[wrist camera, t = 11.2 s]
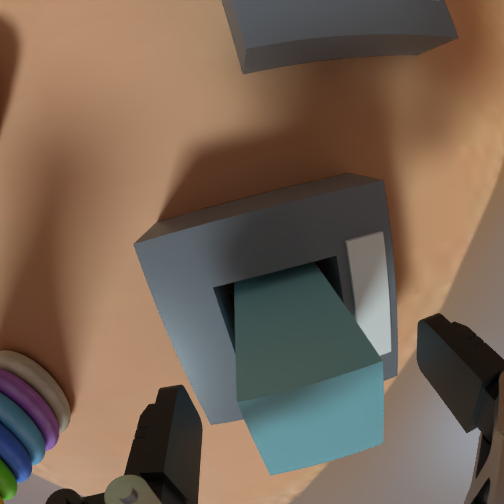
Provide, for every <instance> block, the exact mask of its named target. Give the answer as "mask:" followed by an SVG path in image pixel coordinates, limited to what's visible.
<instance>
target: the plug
mask: <svg viewBox="0 0 504 504" xmlns="http://www.w3.org/2000/svg"><path fill="white" fill-rule="evenodd" d="M234 305H235V355H236V393H237V404H238V406H239V409H240V411H241V413H242V415H243V418H244V420H245V422H246V424H247V427H248V429H249V431H250V433H251V435H252V438H253V440H254V442H255V444H256V446H257V448H258V450H259V453H260V455H261V457H262V459H263V461H264V463H265V465H266V467H267V469H268V471H269V473H270V475H275V474H280V473H284V472H289V471H293V470H298V469H302V468H306V467H310V466H314V465H317V464H321V463H325V462H328V461H332V460H335V459H338V458H342V457H345V456H348V455H351V454H354V453H357V452H360V451H363V450H366V449H369V448H372V447H374V446H377V445H380V444H382V443H383V424H384V420H383V419H384V383H383V360H382V359H381V357H380V356H379V354H378V353H377V351H376V350H375V348H374V347H373V345H372V344H371V342H370V341H369V339H368V338H367V337H366V335H365V334H364V332H363V331H362V329H361V328H360V326H359V325H358V323H357V322H356V320H355V319H354V318H353V316H352V315H351V313H350V312H349V310H348V309H347V307H346V306H345V305H344V303H343V302H342V300H341V299H340V298H339V296H338V295H337V293H336V292H335V290H334V289H333V288H332V286H331V285H330V283H329V282H328V281H327V279H326V278H325V276H324V275H323V274H322V272H321V271H320V269H319V268H318V267H317V265H316V264H315V262H310V263H307V264H303V265H299V266H295V267H291V268H288V269H284V270H280V271H276V272H272V273H268V274H265V275H261V276H257V277H253V278H249V279H245V280H241V281H237V282H234Z"/></svg>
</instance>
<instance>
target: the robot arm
mask: <svg viewBox="0 0 504 504" xmlns="http://www.w3.org/2000/svg"><path fill="white" fill-rule="evenodd" d="M417 362H418V366H419V368H420V370H421V372H422V373H423V374H424V376H425V377H426V378H427V380H428V381H429V382H430V384H431V385H432V386H433V388H434V389H435V390H436V392H437V393H438V394H439V396H440V397H441V398H442V400H443V401H444V403H445V404H446V405H447V407H448V408H449V409H450V411H451V412H452V414H453V415H454V416H455V418H456V419H457V420H458V422H459V423H460V425H461V426H462V427H463V429H464V430H465V432H466V433H468V432H470V431H472V430H473V429H475V428H477V427H478V428H479V430H480V431H481V433H480V436H479V442H478V449H477V455H476V461H475V467H474V472H473V477H472V482H471V485H470V489H469V491H468V494H467V496H466V499H465V501H464V504H504V359H502V358H501V357H500V356H499V355H498V354H497V353H496V352H495V351H494V350H493V349H492V348H491V347H490V346H488V345H487V344H486V343H484V341H483V340H482V339H481V338H480V337H478V336H476V334H475V333H474V332H473V331H472V330H471V329H470V328H468V327H467V326H465V325H462V324H459V323H457V322H453V323H450V322H449V321H448V320H447V319H446V318H445V317H444V316H443V315H441V314H440V313H437V314H435V315H432V316H430V317H427V318H425V319H422V320H420V321H419V322H418V332H417ZM134 437H135V439H134V440H133V443H132V447H131V451H130V454H129V458H128V462H127V466H126V470H125V473H124V476H121V477H118V478H116V479H115V480H113V481H112V482H111V483H110V484H109V485H108V487H107V489H106V491H105V493H101V494H96V495H92V496H87V497H81V496H80V495H79V494H77V493H76V492H75V491H74V490H71V489H60V490H58V491H55V492H54V493H53V494H51V495H50V497H49V498H48V499H47V501H46V504H198V491H199V475H200V459H201V445H202V423H201V419H200V416H199V414H198V412H197V410H196V408H195V406H194V405H193V403H192V401H191V399H190V397H189V395H188V393H187V391H186V389H185V387H184V386H183V385H176V386H170V387H163V388H160V389H159V391H158V395H157V398H156V402H155V404H149V405H148V406H147V407H146V409H145V410H144V411H143V413H142V414H141V415H140V419H139V422H138V426H137V430H136V433H135V436H134Z"/></svg>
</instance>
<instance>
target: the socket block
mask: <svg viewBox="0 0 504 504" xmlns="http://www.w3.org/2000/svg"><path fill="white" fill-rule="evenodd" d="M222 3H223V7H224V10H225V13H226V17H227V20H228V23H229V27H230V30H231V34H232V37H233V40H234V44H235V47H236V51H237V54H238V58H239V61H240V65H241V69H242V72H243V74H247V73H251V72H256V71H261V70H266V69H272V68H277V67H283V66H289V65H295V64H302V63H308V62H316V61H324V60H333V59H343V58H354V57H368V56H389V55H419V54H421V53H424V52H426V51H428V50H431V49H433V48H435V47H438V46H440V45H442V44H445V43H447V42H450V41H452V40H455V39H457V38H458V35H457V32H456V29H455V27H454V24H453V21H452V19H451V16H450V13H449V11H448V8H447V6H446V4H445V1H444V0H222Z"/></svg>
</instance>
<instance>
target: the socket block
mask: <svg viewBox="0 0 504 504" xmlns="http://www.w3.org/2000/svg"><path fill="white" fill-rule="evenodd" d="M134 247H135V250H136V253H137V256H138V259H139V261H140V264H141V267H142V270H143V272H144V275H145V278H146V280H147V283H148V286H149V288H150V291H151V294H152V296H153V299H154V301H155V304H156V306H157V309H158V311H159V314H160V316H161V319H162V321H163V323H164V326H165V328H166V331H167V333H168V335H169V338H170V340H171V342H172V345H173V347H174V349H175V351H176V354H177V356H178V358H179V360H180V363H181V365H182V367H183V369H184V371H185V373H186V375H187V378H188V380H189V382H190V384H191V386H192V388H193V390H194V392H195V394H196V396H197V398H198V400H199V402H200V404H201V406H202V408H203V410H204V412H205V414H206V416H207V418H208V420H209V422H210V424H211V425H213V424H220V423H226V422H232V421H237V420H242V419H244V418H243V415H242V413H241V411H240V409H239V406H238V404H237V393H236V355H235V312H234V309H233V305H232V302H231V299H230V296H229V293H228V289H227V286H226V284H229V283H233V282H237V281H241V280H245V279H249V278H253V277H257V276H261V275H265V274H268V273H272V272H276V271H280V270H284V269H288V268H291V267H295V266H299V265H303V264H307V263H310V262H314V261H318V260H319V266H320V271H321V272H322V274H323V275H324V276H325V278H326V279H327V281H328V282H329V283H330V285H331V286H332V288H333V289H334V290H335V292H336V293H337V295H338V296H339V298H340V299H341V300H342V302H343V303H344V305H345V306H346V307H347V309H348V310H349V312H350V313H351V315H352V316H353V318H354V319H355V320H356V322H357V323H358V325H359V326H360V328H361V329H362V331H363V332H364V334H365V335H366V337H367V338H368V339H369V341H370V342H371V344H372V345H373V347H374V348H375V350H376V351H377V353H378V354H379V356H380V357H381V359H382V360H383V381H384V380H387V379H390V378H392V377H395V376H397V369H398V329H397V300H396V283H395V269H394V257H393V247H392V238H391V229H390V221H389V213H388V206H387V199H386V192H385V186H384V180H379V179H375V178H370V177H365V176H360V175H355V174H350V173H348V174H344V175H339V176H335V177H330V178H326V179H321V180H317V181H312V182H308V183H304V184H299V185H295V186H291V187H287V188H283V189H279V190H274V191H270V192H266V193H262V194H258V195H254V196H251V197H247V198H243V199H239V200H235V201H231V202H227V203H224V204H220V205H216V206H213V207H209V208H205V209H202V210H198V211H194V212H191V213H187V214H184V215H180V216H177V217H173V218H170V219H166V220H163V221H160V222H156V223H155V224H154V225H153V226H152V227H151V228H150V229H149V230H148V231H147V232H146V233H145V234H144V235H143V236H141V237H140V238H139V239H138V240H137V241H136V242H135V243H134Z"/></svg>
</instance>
